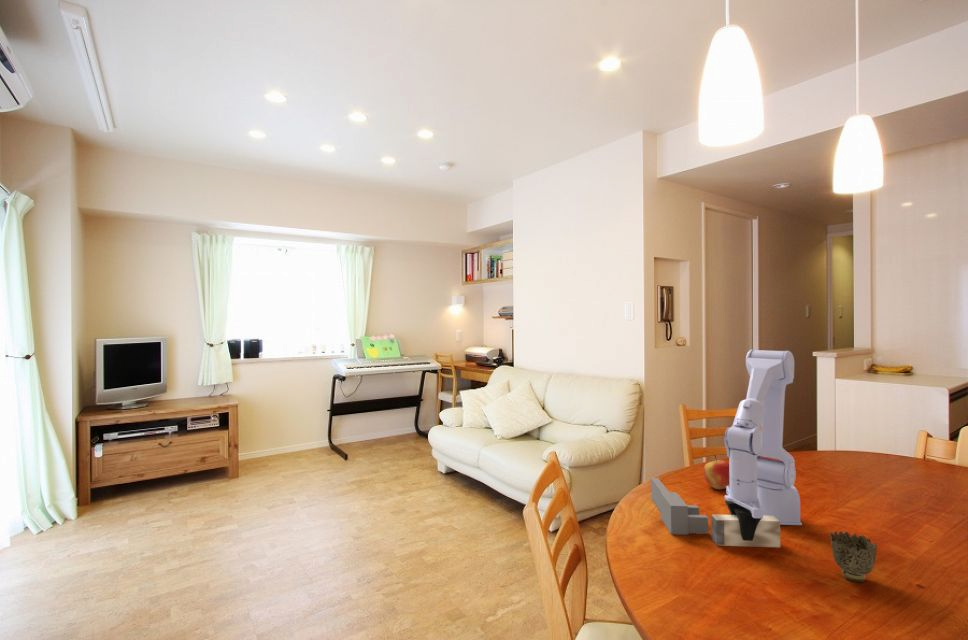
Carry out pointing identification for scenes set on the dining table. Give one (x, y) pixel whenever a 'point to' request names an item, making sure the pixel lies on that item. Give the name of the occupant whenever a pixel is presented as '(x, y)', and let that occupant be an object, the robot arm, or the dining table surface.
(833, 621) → the dining table surface
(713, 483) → the apple
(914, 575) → the dining table surface
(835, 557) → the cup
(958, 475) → the dining table surface
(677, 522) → the grey stepped block
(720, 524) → the birch rail
